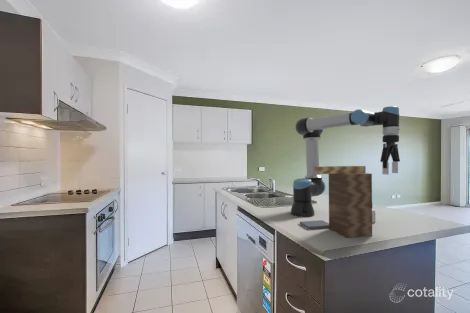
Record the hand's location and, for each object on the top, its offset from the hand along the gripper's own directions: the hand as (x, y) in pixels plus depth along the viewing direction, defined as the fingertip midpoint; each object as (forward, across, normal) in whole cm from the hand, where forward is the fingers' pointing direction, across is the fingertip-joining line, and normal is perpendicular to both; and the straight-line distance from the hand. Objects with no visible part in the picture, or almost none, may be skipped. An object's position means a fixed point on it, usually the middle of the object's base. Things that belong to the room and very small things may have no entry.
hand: (390, 173), depth 128 cm
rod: (-1, -32, +11) cm, 34 cm away
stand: (+29, -28, +9) cm, 41 cm away
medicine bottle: (+29, 0, +12) cm, 32 cm away
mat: (+29, -32, +25) cm, 50 cm away
